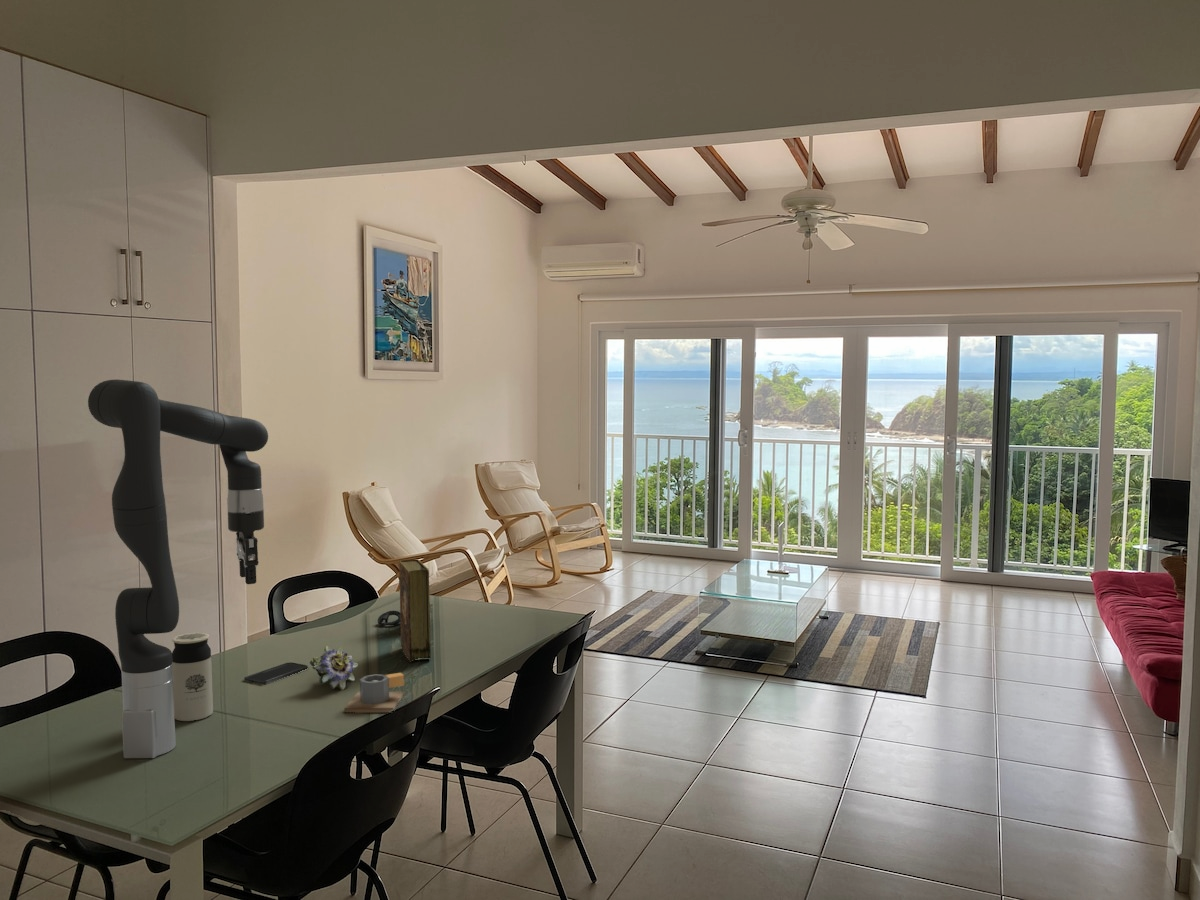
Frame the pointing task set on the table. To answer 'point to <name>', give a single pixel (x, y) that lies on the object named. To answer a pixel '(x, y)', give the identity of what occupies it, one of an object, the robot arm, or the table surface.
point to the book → (414, 609)
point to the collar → (378, 687)
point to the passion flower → (334, 667)
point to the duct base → (387, 706)
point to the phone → (275, 673)
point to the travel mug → (192, 677)
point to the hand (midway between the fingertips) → (248, 580)
